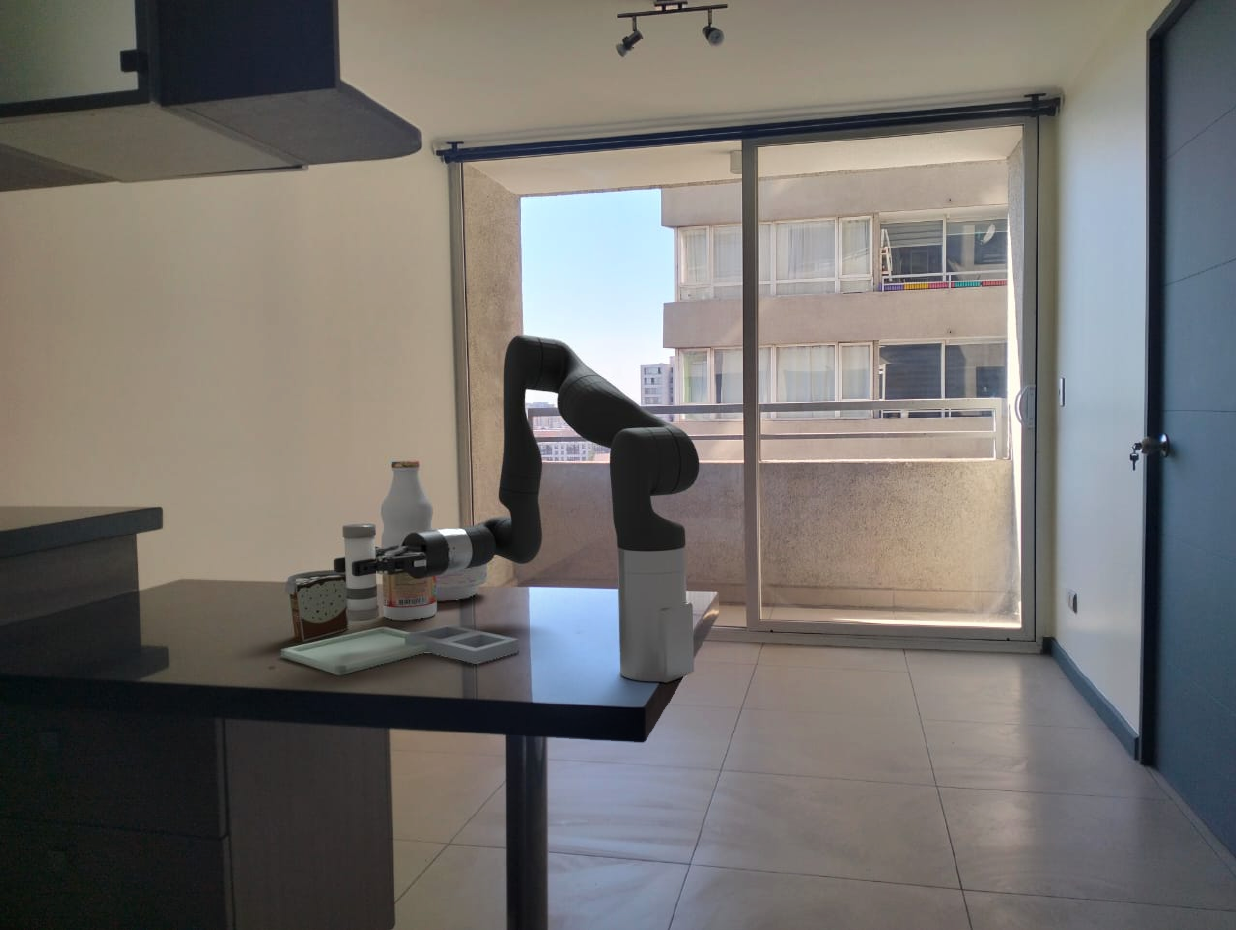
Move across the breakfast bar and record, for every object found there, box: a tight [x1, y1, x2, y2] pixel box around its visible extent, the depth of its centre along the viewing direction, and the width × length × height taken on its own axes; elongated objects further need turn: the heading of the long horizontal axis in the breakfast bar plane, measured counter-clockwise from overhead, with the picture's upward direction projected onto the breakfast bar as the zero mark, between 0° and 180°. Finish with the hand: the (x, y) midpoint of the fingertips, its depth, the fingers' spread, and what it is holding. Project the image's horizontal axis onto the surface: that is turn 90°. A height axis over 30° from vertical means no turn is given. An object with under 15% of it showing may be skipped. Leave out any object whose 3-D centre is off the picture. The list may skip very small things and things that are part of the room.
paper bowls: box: [436, 563, 488, 602], centre depth 175 cm, size 15×15×8 cm
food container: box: [284, 569, 349, 643], centre depth 146 cm, size 12×6×10 cm, turn 149°
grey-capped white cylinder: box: [341, 523, 380, 622], centre depth 133 cm, size 5×5×14 cm
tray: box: [280, 626, 427, 676], centre depth 133 cm, size 16×18×1 cm
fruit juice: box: [380, 460, 438, 621], centre depth 158 cm, size 9×9×28 cm
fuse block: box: [405, 623, 520, 664], centre depth 134 cm, size 17×8×2 cm, turn 49°
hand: (344, 567), depth 131 cm, fingers closed on grey-capped white cylinder, 4 cm apart
